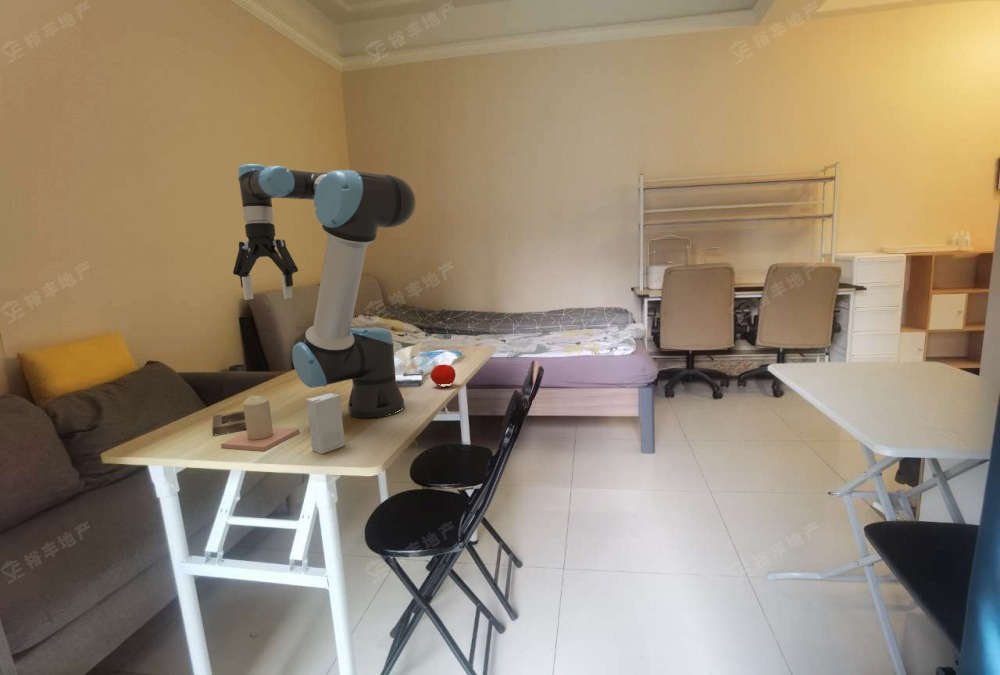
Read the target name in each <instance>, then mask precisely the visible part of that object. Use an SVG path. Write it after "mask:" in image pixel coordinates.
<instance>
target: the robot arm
mask: <svg viewBox="0 0 1000 675" xmlns="http://www.w3.org/2000/svg"><path fill="white" fill-rule="evenodd" d="M238 183H239V190H240V196H241V202H242V203H241V204H242V211H243V212H242V213H243V221H244V222H245V223H246V224H245V225H244V230H245V231H244V232H245V237H246V238H247V239H248V241H239V242H238V253H237V256H236V260H235V264H234V267H233V271H232V274H233V275H236V276H239V280H240V287H241V288H242V290H243V297H244V300H245V301H247V300H253V299H254V292H253V284H252V276H251V275H250V273H251V271H252V269H253V267H254V266H255V264H256V262H257V260H258V259H259V258H261V257H262V258H264V257H268V258H269V259H271V261H272V262H273V263H274V264H275V266H277V267H278V269H279V270H280V271H281V272H282V275H281V285H282V293H283V299H284V300H286V299H293V289H292V287H293V286H294V282H293V280H294V279H293V274H295V273H297V272H299V268H298V267H297V264H296V263H295V261H294V259H293V257H292V255H291V254H290V252H289V250H288V248H287V244H286V241H285V240H284V239H279V238H277V239H275V237H276V228H275V224H274V223H273V222H274V220H275V219H274V211H273V204H272V199H277V198H278V199H292V200H293V199H295V200H296V199H297V200H309V201H310V200H311V201H313V206H314V207H315V211H314V213H315V216H316V218H317V220H318V222H319V223H320V224H321V226H322V227H321V228H322V231H323V232H324V234H326V236H327V241H326V246H325V247H326V248H325V253H324V260H323V265H322V272H321V277H320V285H319V290H318V296H317V303H316V307H315V308H316V309H315V315H314V320H313V325H312V326H309V328H307V329H306V331H305V333H304V334H305V335H304V340H303V342H302V341H299V342H297V343H296V344H294V345H293V347H292V351H291V352H292V353H291V355H292V363H293V367H294V370H295V373H296V375H297V377H298V378H299V380H300V381H301V383H303V384H304V385H305V386H306V387H309V388H311V389H312V388H313V389H314V388H315V389H316V388H319V387H321V388H322V387H327V386H329V385H333V384H337V383H340V382H347V381H350V380H352V381H351V382H352V387H351V388H352V389H351V392H350V396H349V400H348V405H347V410H348V415H349V416H351V417H354V418H359V419H375V418H374V417H377V418H382V417H381V416H384V417H387V416H386V415H389V414H392V415H394V414H393V413H395V412H397V411H399V410H401V409H402V408H403V407H404V408H405V400H404V398H403V394H402V392H401V390H400V388H399V385H398V382H397V379H396V377H397V376H396V366H395V355H394V354H395V352H394V346H395V345H394V340H393V335H392V332H391V331H390V330H388V329H386V328H374V327H352V323H353V318H354V312H355V309H356V304H357V298H358V293H359V288H360V283H361V278H362V273H363V268H364V263H365V258H366V253H367V248H368V246H369V245H370V244H372V243H374V242H375V241H376V239H377V234H378V229H379V228H394V227H395V228H396V227H398V226H401V225H404V224H405V223H406V222H408V220H410V219H411V217H412V216H413V214H414V211H415V209H416V203H417V202H416V195H415V193H414V190H413V189H412V187H411V186H410V184H408V182H406V181H405V180H404V179H402V178H400V177H399V176H395V175H391V174H381V173H379V174H378V173H371V172H365V171H357V170H353V169H352V170H351V169H347V170H346V169H345V170H340V169H339V170H338V169H336V170H331V171H329V172H318V171H317V172H314V171H303V170H295V169H288V168H286V167H285V166H281V165H270V166H265V165H263V164H258V163H257V164H255V163H254V164H253V163H248V164H242V165H240V166H239V167H238ZM351 327H352V328H351ZM395 414H396V413H395ZM389 416H390V415H389Z"/></svg>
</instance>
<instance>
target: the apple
mask: <svg viewBox="0 0 1000 675" xmlns="http://www.w3.org/2000/svg"><path fill="white" fill-rule="evenodd" d="M430 379H431V381H432V382H433V383H434V384H435V385H436V384H440V385H441V384H450V383H452V384H453V383H454V381H455V379H456V370H455V369H454V367H453V366H452V365H450V364H444V363H443V364H438V365H436V366H434V367H433V369H432V370H431V371H430Z"/></svg>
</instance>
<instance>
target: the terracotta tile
mask: <svg viewBox="0 0 1000 675" xmlns="http://www.w3.org/2000/svg"><path fill="white" fill-rule="evenodd" d="M272 428H273V435H271V436H270V437H267V438H264V439H259V440H250V439H248V436H247V431H245V432H244V433H241V434H240V435H237V436H235V437H233V438H230V439H228V440H226V441H224V442H222V443H220V446H221V449H229V450H230V449H231V450H241V451H243V450H245V451H255V452H256V451H257V452H266V451H267V450H270V449H272V448H274V447H275V446H277V445H279V444H282V442H285V441H286V440H289V439H292V437H294V436H297V435H298V434H300V428H288V427H274V426H272Z"/></svg>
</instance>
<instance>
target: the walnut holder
mask: <svg viewBox="0 0 1000 675" xmlns="http://www.w3.org/2000/svg"><path fill="white" fill-rule="evenodd" d="M242 419H245V414H244V410H240V411H235V412H229V413H223V414H216V415H215V414H214V415H212V434H213V435H215V434H221V433H226V434H228V433H227V432H232V433H235V432H234V431H237V432H240V431H239V430H243V431H246V430H245V429H246V422H245V420H242ZM236 420H240V421H236ZM229 421H234V422H229ZM223 422H228V423H223ZM221 435H222V434H221ZM215 436H216V435H215Z"/></svg>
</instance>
